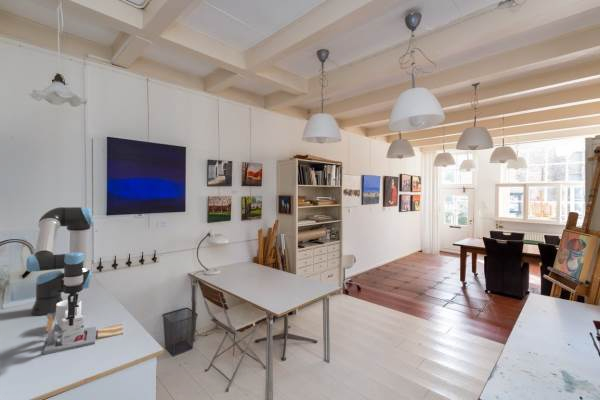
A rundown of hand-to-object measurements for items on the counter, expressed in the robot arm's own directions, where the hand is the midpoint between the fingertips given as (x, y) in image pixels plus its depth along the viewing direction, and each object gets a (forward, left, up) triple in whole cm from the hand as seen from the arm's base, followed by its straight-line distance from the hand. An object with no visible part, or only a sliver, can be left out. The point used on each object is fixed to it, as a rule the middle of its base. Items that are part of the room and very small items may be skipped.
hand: (72, 326), depth 142 cm
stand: (0, 0, -8) cm, 8 cm away
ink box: (0, 0, -8) cm, 8 cm away
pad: (-1, +16, -8) cm, 18 cm away
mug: (-19, -3, -8) cm, 21 cm away
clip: (+7, -8, +6) cm, 12 cm away
